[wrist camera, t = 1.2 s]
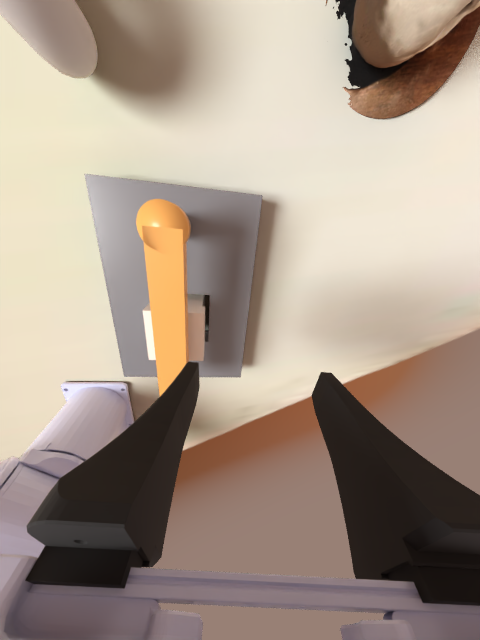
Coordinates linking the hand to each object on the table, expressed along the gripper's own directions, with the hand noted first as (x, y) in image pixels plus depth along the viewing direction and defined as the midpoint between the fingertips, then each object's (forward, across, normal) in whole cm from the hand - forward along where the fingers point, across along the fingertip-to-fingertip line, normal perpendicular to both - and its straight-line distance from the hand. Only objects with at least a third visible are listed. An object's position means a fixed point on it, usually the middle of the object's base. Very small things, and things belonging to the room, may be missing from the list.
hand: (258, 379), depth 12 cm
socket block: (+13, +7, +1) cm, 15 cm away
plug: (+12, +8, +4) cm, 15 cm away
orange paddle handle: (+6, +7, 0) cm, 9 cm away
